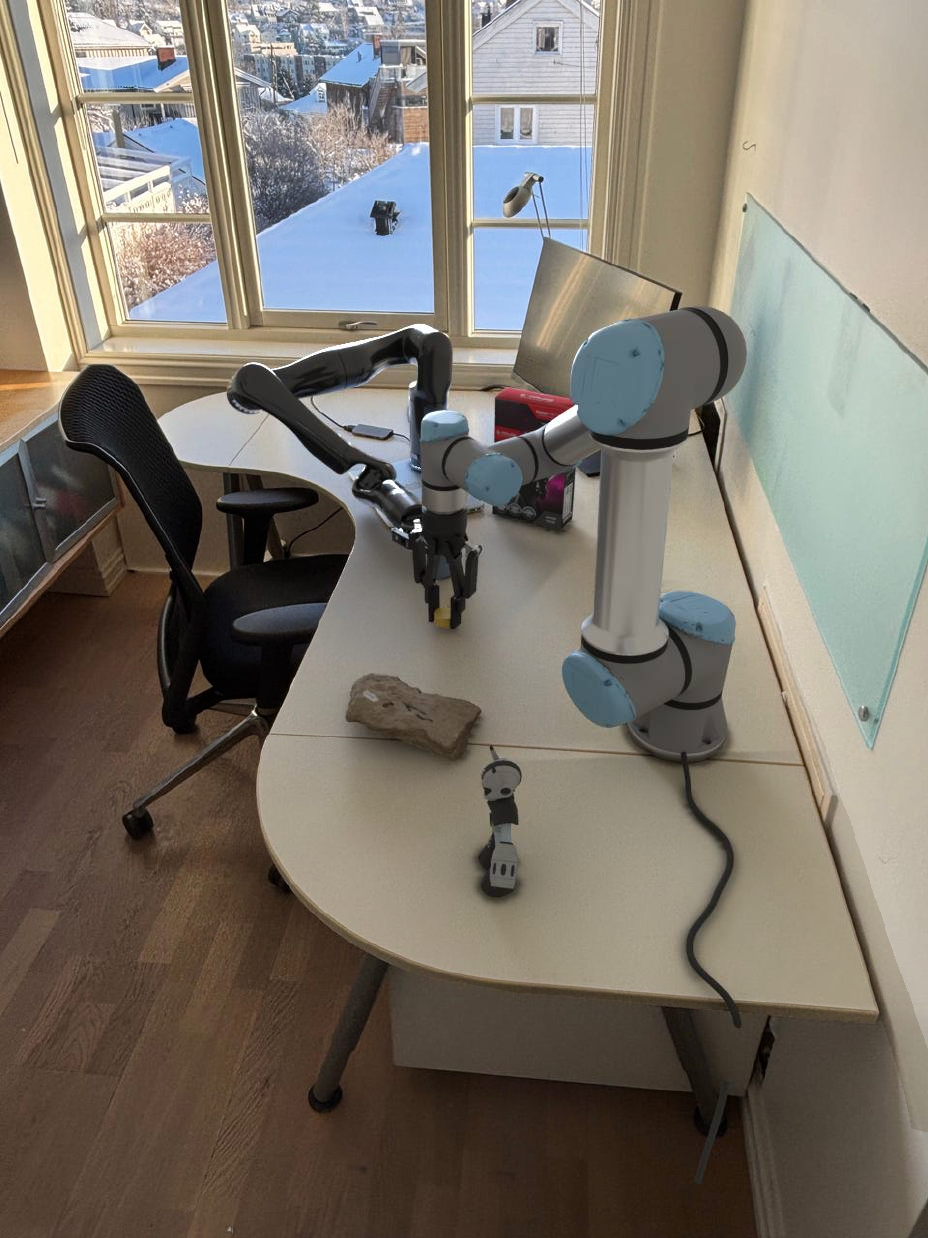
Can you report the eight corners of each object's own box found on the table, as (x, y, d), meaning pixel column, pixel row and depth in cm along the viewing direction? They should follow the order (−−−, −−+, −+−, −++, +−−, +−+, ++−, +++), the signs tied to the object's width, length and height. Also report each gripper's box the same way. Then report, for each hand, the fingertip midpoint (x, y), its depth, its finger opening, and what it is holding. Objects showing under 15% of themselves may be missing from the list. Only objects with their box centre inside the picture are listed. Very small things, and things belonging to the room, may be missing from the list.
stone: (319, 730, 137) (326, 695, 135) (356, 690, 151) (363, 658, 148) (450, 779, 134) (460, 744, 131) (477, 733, 147) (486, 701, 145)
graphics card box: (489, 515, 202) (492, 395, 187) (503, 502, 207) (507, 384, 192) (561, 533, 196) (570, 410, 180) (573, 519, 201) (583, 399, 186)
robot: (523, 934, 111) (531, 817, 100) (483, 936, 111) (487, 818, 100) (509, 815, 128) (514, 703, 117) (474, 816, 127) (476, 704, 116)
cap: (435, 628, 163) (435, 619, 162) (432, 616, 166) (432, 607, 165) (458, 626, 164) (458, 617, 163) (454, 614, 167) (454, 605, 166)
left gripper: (373, 503, 184) (411, 540, 172) (437, 488, 190) (478, 523, 177) (375, 536, 188) (412, 574, 176) (437, 521, 194) (477, 556, 182)
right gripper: (500, 507, 151) (496, 625, 165) (413, 485, 158) (416, 599, 171) (478, 526, 146) (476, 646, 159) (389, 502, 153) (394, 619, 166)
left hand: (445, 548), depth 177 cm, fingers closed on bottle, 5 cm apart
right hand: (445, 622), depth 165 cm, fingers closed on cap, 4 cm apart
